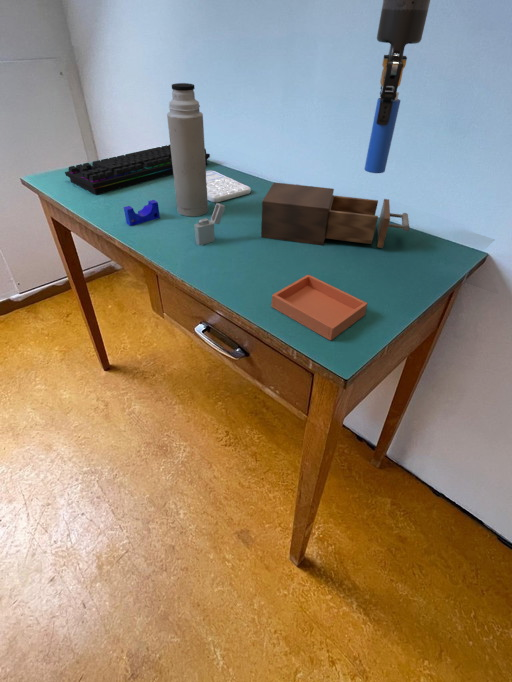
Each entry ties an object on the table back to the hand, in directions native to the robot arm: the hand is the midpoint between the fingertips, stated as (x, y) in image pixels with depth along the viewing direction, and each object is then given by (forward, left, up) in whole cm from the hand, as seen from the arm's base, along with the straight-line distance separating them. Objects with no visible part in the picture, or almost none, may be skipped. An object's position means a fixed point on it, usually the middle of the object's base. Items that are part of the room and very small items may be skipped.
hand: (382, 121), depth 77 cm
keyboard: (+68, -28, -25) cm, 78 cm away
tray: (+6, +31, -25) cm, 40 cm away
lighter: (+33, +10, -25) cm, 42 cm away
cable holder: (+53, +4, -25) cm, 58 cm away
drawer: (-1, -1, -24) cm, 24 cm away
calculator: (+43, -22, -25) cm, 54 cm away
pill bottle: (0, 0, -9) cm, 9 cm away
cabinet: (+15, -1, -25) cm, 29 cm away
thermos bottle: (+43, -5, -25) cm, 50 cm away
